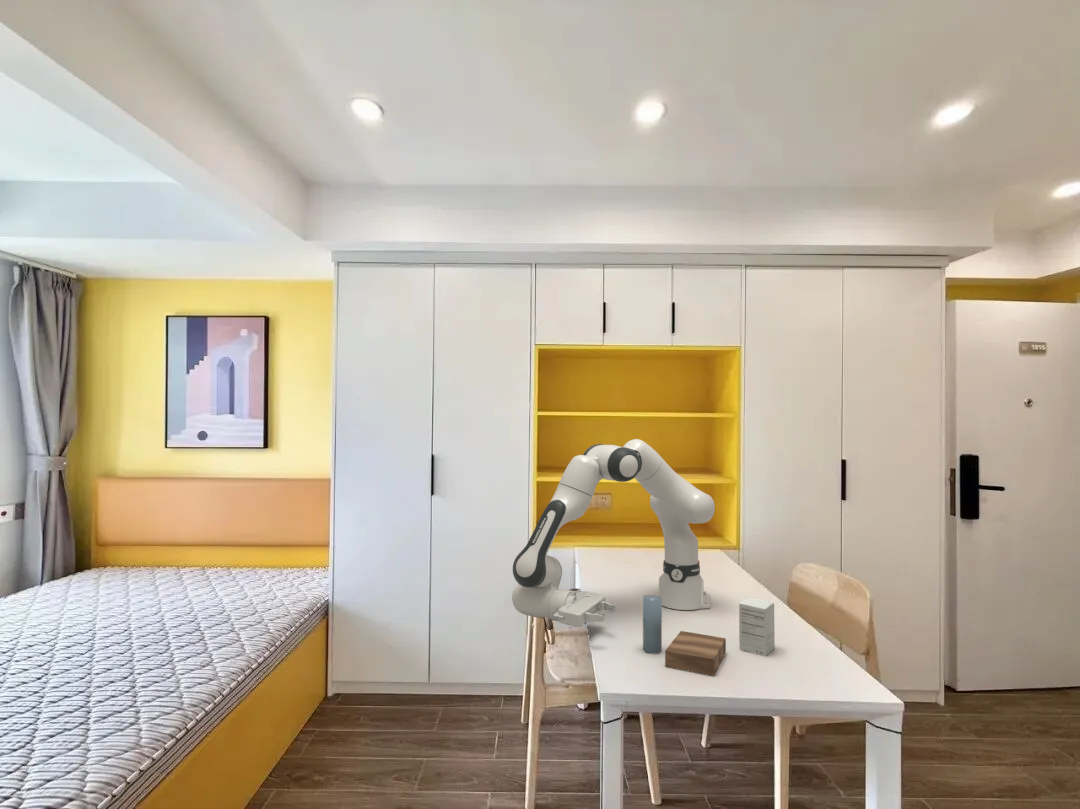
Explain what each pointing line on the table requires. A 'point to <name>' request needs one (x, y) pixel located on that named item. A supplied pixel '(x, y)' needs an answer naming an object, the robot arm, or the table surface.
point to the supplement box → (756, 626)
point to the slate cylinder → (652, 624)
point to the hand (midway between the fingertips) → (609, 613)
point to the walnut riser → (695, 652)
